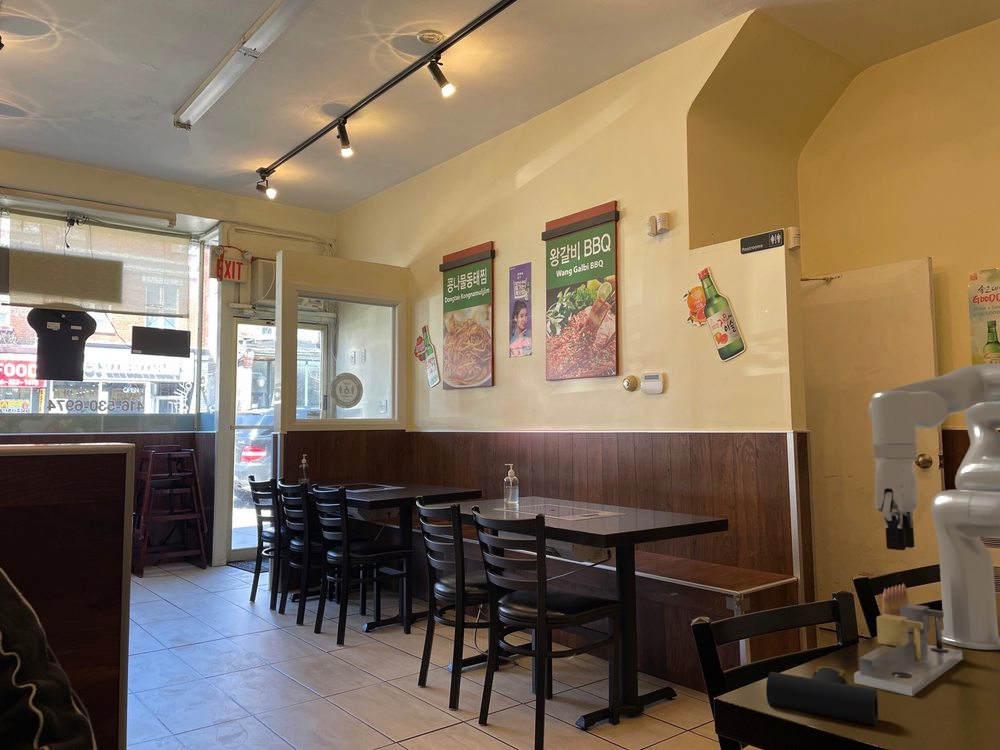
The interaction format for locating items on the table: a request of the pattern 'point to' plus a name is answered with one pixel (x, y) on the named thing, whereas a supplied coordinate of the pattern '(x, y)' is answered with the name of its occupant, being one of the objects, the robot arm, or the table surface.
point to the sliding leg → (898, 632)
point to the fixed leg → (923, 619)
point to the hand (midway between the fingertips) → (900, 547)
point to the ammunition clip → (894, 600)
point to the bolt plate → (905, 666)
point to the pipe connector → (824, 695)
